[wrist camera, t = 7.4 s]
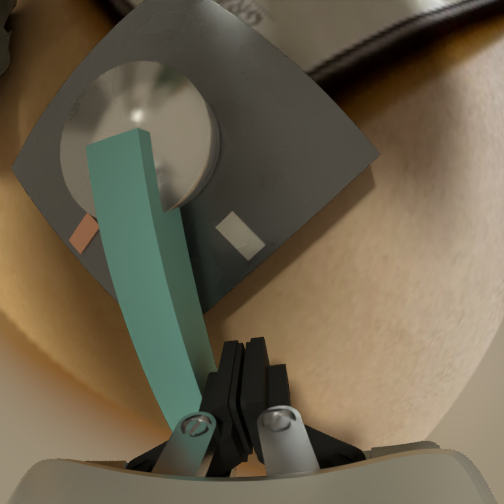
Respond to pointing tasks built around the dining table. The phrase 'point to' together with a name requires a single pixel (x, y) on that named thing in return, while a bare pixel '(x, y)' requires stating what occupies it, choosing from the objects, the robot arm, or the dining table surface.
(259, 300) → the dining table surface
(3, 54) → the rock
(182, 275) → the teal pivot lever
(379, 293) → the dining table surface
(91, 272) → the base
